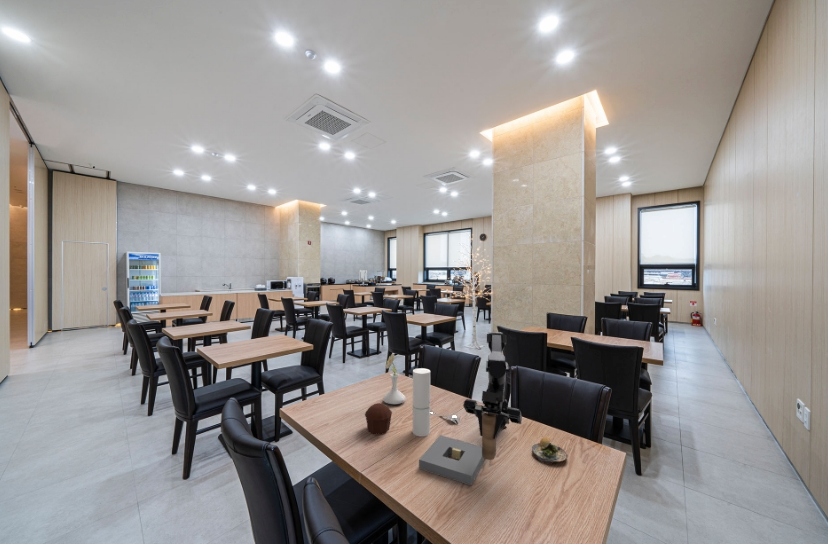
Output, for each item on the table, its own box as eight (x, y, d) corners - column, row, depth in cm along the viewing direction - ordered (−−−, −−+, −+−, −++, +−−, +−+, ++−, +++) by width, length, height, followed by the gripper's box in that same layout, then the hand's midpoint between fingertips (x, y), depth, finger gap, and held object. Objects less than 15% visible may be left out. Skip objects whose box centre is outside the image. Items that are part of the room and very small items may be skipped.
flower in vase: (385, 396, 165) (386, 349, 166) (407, 398, 164) (407, 350, 164) (379, 407, 153) (380, 355, 153) (402, 408, 151) (403, 356, 151)
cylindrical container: (432, 429, 131) (432, 369, 131) (427, 437, 124) (427, 374, 125) (415, 426, 133) (416, 367, 134) (410, 434, 127) (410, 372, 127)
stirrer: (420, 404, 148) (427, 401, 151) (420, 411, 148) (426, 408, 151) (456, 419, 135) (462, 416, 138) (455, 428, 135) (461, 424, 138)
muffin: (367, 422, 137) (367, 399, 137) (393, 423, 137) (393, 399, 137) (362, 436, 125) (362, 411, 125) (390, 437, 125) (390, 411, 125)
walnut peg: (483, 451, 105) (483, 412, 105) (495, 454, 103) (496, 414, 103) (480, 457, 101) (480, 417, 101) (493, 461, 99) (493, 420, 99)
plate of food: (553, 470, 105) (553, 447, 105) (524, 453, 115) (524, 432, 115) (574, 459, 111) (574, 438, 111) (545, 444, 121) (545, 424, 121)
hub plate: (440, 443, 121) (440, 435, 121) (486, 455, 112) (486, 447, 112) (418, 468, 105) (419, 459, 105) (471, 485, 96) (471, 475, 96)
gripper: (465, 375, 110) (454, 420, 100) (520, 384, 102) (514, 434, 92) (471, 390, 117) (461, 433, 107) (524, 400, 109) (518, 448, 99)
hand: (487, 437), depth 101 cm, fingers closed on walnut peg, 4 cm apart
